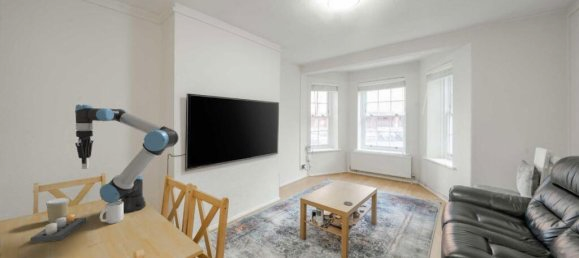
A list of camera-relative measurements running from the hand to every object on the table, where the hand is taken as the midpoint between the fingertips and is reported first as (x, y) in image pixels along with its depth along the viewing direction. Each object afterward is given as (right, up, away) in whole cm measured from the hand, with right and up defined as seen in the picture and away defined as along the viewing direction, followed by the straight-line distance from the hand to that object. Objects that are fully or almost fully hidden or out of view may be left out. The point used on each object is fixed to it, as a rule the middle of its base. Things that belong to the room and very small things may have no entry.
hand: (85, 168), depth 137 cm
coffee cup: (-11, -30, -6) cm, 32 cm away
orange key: (+1, -30, -11) cm, 32 cm away
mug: (+20, -31, -5) cm, 37 cm away
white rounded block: (+4, -29, -23) cm, 38 cm away
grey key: (+3, -29, -17) cm, 34 cm away
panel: (+2, -31, -17) cm, 35 cm away
